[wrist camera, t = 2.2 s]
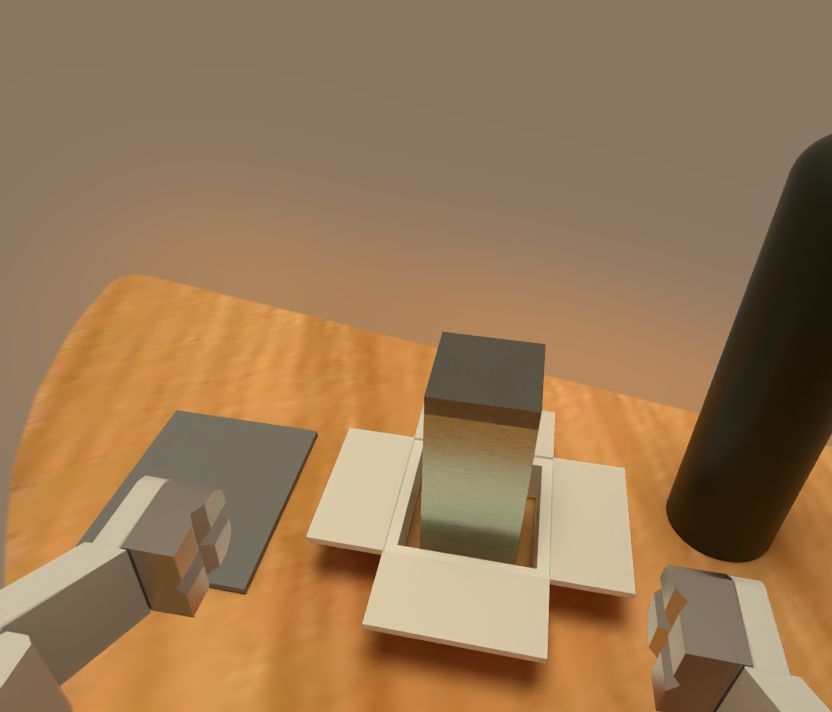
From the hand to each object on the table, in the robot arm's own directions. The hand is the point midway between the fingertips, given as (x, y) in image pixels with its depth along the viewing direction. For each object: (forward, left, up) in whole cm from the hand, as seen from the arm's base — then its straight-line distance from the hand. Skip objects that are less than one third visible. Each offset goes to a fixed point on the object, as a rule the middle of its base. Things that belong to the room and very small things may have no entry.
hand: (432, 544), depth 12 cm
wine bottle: (-14, -20, -20) cm, 32 cm away
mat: (+16, -16, -20) cm, 30 cm away
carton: (0, -16, -20) cm, 26 cm away
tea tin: (0, -16, -20) cm, 26 cm away
